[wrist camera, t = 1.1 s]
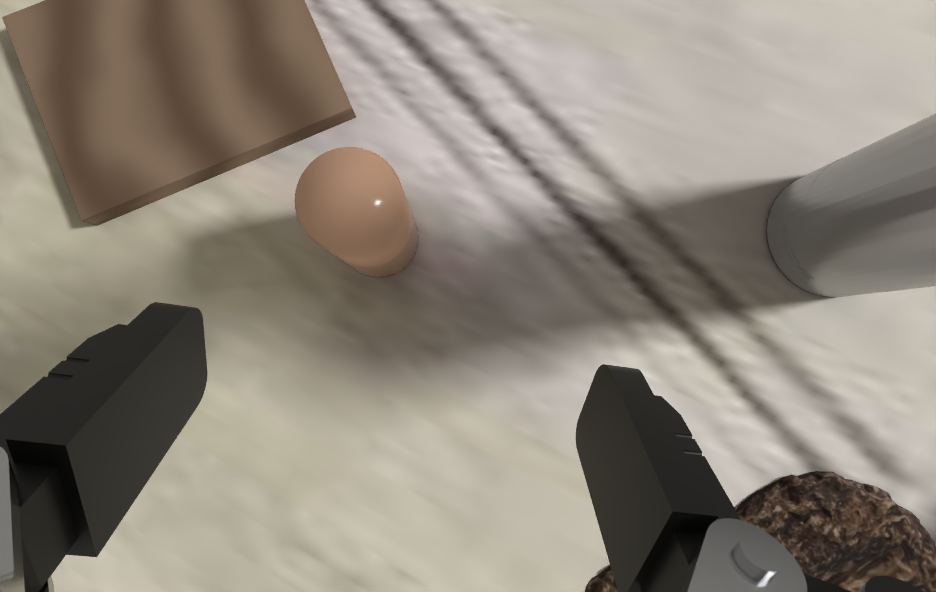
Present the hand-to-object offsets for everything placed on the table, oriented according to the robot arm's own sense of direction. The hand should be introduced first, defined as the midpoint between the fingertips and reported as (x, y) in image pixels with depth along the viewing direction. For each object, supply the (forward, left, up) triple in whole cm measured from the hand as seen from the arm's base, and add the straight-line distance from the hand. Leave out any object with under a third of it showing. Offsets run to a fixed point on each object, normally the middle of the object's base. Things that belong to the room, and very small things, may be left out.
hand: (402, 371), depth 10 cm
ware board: (+9, -26, -25) cm, 37 cm away
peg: (+1, -9, -25) cm, 27 cm away
